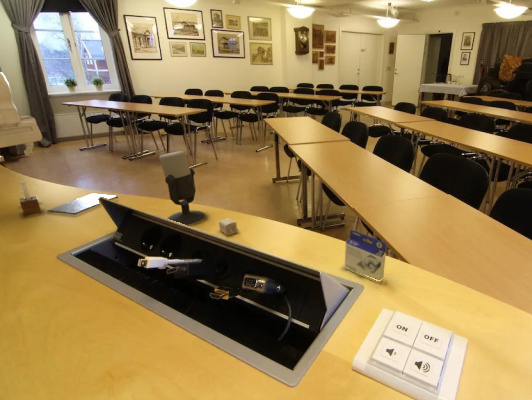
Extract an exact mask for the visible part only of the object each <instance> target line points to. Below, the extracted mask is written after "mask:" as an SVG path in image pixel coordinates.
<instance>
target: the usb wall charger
mask: <svg viewBox="0 0 532 400" xmlns="http://www.w3.org/2000/svg"><path fill="white" fill-rule="evenodd" d="M218 224H219V225H218V226H219V231H220V232H221V233H223V234H224V235H226V236H230V235H233V234H236V233H237V232H239V228H238V226H237V222H236V221H234V220H232V219H231V218H229V217H227V218H224V219H220V220H219V221H218Z"/></svg>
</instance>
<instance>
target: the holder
mask: <svg viewBox="0 0 532 400" xmlns="http://www.w3.org/2000/svg"><path fill="white" fill-rule="evenodd" d="M30 197H31V200H26V198H25V197H21V198H19V203H20V207H21V209H22V212H23V215H24V217H27V216H31V215H32V216H33V215H38V214H42V208H41V204H40V202H39V199H38V196H37V195H33V196H30Z"/></svg>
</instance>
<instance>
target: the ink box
mask: <svg viewBox="0 0 532 400" xmlns="http://www.w3.org/2000/svg"><path fill="white" fill-rule="evenodd" d="M349 231H350V232H349V238H348V239H347V240H346V241H345V250H344V264H343V265H344V269H346V270H348V271H349V272H352V273H354V274H356V275H359V276H360V277H363V278H365V279H367V280H369V281H371V282H374V283H376V284H378V285H380V284H381V283H382V282H383V281H384V276H385V267H386V255H387V247H388V243H387V242H386V241H384V240H380V239H378V238H375V237H372V236H370V235H368V234H364V233H361V232H359V231H356V230H354V229H350V230H349ZM367 240H368V241H367ZM360 273H361V274H360ZM363 274H364V275H363ZM365 275H367V276H369V277H367V276H365ZM370 277H372V278H375V279H377V280H381V279H382V278H383V279H382V280H381V281H376V280H374V279H372V278H370Z"/></svg>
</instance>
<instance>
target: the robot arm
mask: <svg viewBox="0 0 532 400" xmlns="http://www.w3.org/2000/svg"><path fill="white" fill-rule="evenodd" d="M42 139H43V134H42V132H41V130H40V127H39V126H38V123H37V120H36V119H35V117H33V116H31V115H19V113H18V109H17V106H16V105H15V103H14V102H13V93H12V91H11V87H10V84H9V82H8V80H7V78H6V76H5V75H4V73H3V72H2V71H0V149H1V148H2V149H3V148H7V147H13V146H18V145H25V146H26V149H25V150H23V152H24V155H25V156H27V157H28V156H29V157H30V156H33V155H34V152H33V149H34V145H35V144H34V143H35V142H40V141H42ZM1 162H5V159H4V155H0V163H1Z"/></svg>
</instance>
